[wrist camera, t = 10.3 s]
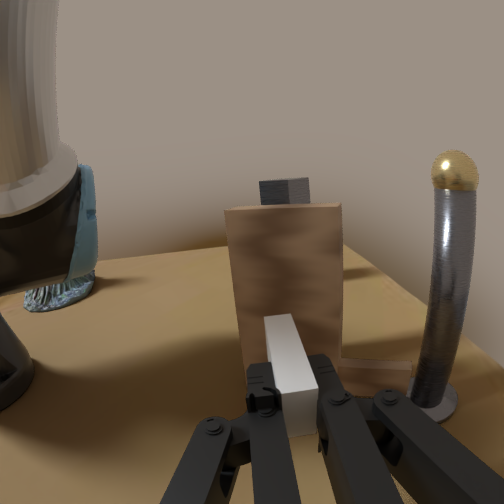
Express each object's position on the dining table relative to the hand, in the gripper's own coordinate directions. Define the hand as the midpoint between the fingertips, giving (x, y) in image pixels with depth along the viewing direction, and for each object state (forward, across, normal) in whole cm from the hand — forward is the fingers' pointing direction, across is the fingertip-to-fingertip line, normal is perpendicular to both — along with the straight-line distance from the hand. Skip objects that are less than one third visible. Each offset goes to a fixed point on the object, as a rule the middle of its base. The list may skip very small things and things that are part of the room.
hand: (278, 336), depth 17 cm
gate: (+5, +4, -9) cm, 11 cm away
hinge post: (+1, +12, -10) cm, 16 cm away
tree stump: (+39, -42, -10) cm, 58 cm away
